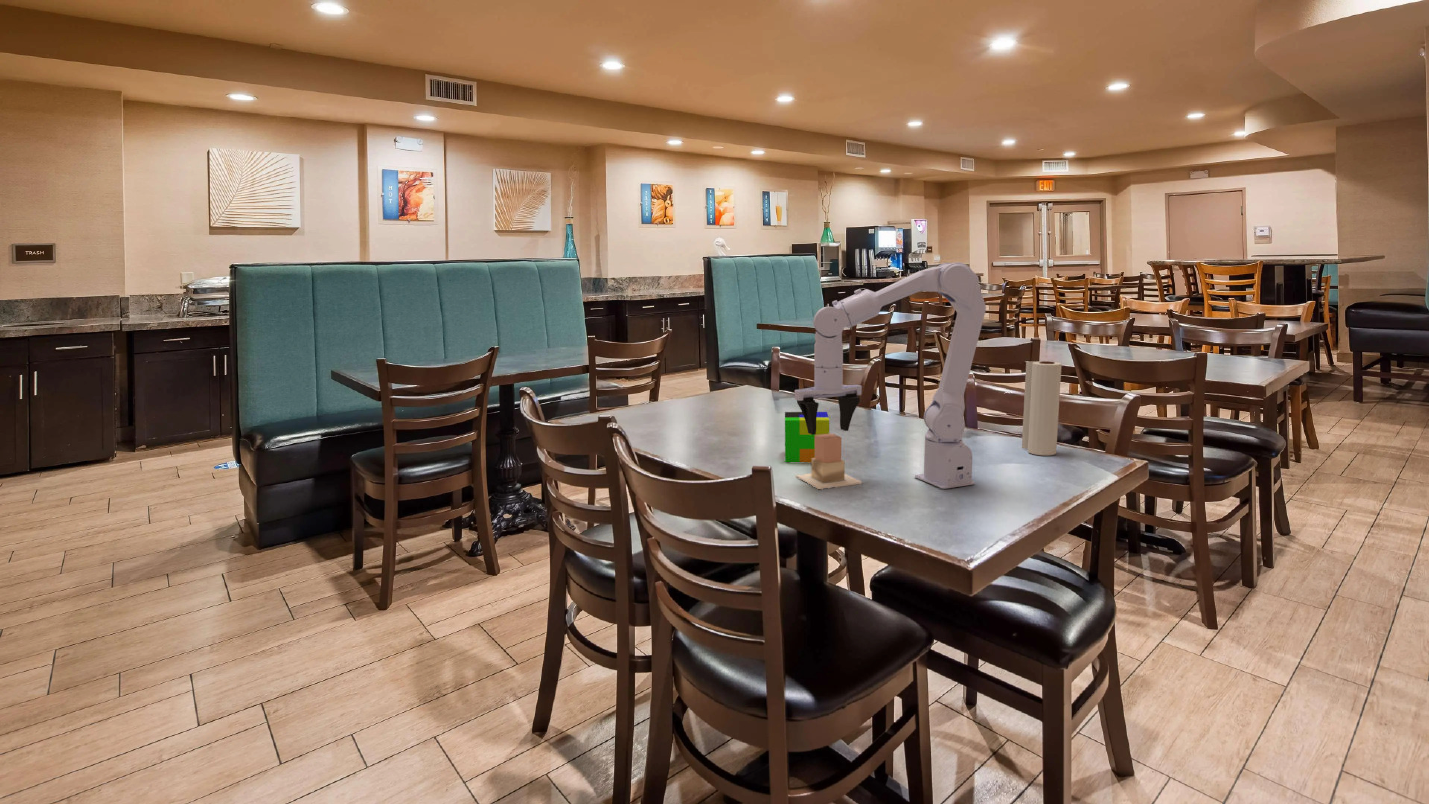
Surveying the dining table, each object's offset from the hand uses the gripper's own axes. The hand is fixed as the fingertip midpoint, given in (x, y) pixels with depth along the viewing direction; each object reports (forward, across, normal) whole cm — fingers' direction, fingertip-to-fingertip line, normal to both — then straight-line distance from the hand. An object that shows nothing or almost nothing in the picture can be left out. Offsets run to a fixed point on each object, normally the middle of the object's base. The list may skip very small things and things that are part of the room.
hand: (828, 431), depth 151 cm
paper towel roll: (+11, -56, +1) cm, 57 cm away
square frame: (+10, 0, 0) cm, 10 cm away
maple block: (+10, 0, 0) cm, 10 cm away
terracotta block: (+6, 0, 0) cm, 6 cm away
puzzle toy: (+11, -5, -19) cm, 22 cm away
